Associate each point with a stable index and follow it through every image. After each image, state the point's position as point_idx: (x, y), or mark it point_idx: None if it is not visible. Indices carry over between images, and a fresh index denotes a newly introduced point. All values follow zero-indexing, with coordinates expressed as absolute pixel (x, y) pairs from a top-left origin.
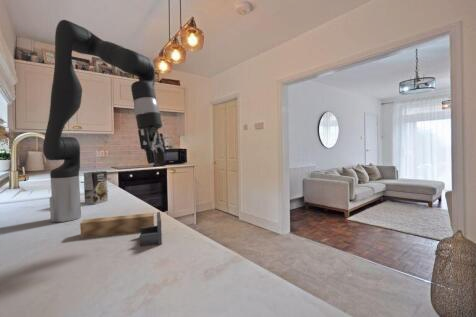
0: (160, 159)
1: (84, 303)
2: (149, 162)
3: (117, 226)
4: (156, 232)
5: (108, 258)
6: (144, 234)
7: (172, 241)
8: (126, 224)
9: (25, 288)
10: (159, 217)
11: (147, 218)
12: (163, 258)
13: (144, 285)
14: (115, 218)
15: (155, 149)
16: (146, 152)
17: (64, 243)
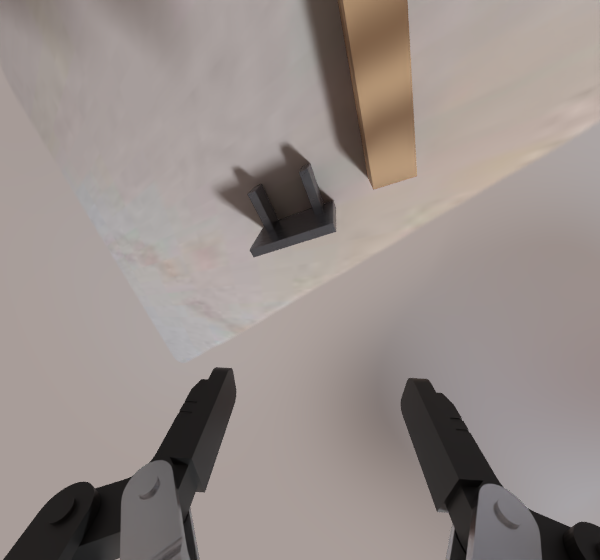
0: (415, 414)
1: (85, 187)
2: (215, 376)
3: (347, 42)
4: (272, 227)
5: (188, 140)
6: (257, 202)
7: None
8: (354, 84)
9: (32, 19)
10: (280, 246)
11: (369, 167)
12: (216, 249)
13: (148, 245)
14: (367, 9)
15: (474, 539)
16: (155, 454)
17: None
